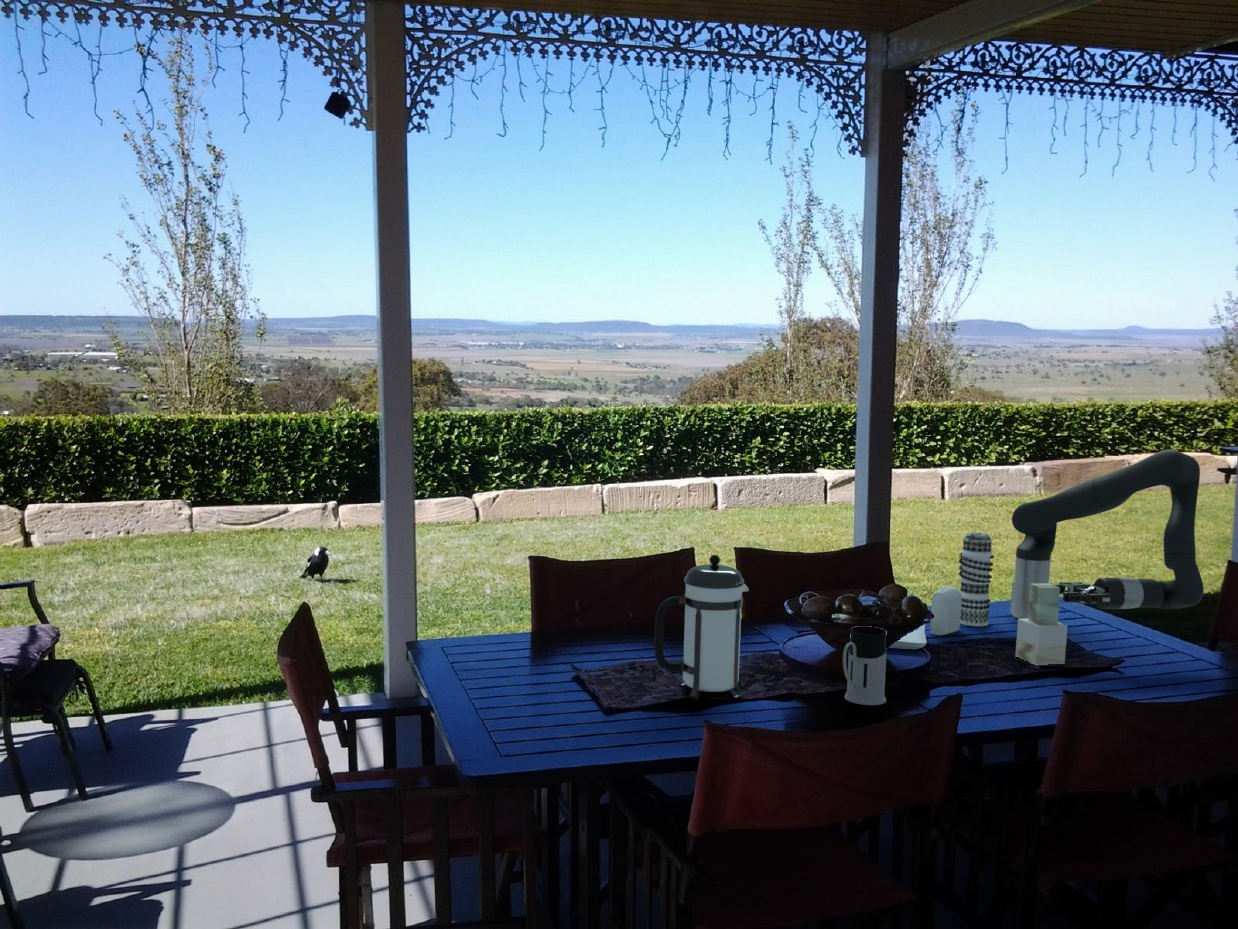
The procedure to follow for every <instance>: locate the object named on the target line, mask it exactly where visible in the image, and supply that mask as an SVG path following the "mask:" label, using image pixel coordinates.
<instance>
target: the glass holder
mask: <svg viewBox="0 0 1238 929" xmlns="http://www.w3.org/2000/svg"><path fill="white" fill-rule="evenodd" d="M886 635H887V631H886V630H884V629H882V628H878V627H872V626H855V627H852V628H851V634H850V642H849V643H846V644H845V646H844V648H843V652H842V668H843V673H844V676H845V678H846V680H847V684H846V692H845V694H844V699H845V700H847V701H848V702H850V703H854V704H857V705H861V706H862V705H864V706H878V705H883V704H885V703H886V702H887V698H886V696H885V695H886V694H885V690H886V689H885V686H886V670H887V669H886V668H887V666H886V665H887V648H886ZM847 652H848V662H847ZM847 664H848V665H847Z"/></svg>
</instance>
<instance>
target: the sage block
mask: <svg viewBox="0 0 1238 929" xmlns="http://www.w3.org/2000/svg"><path fill="white" fill-rule="evenodd" d="M1055 585H1056V584H1052V583H1050V582H1049V583H1040V584H1030V595H1029V613H1028V620H1030V621H1032V622H1034V623H1036V624H1038V625H1058V622H1059V610H1060V609H1059V608H1060V595H1061V594H1060V588H1059V587H1057V586H1055Z"/></svg>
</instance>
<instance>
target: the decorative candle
mask: <svg viewBox="0 0 1238 929" xmlns="http://www.w3.org/2000/svg"><path fill="white" fill-rule="evenodd" d="M962 541H963V542H962V549H961V550H962V551H961V552H959V556H958V557H959V560H958V562H959V563H960V565H959V566H958V568H959V570H960V571H959V573H958V575H959V579H958V581H960V589H959V590H960V592H961V595H962V598H961V614H960V625H963V626H964V625H965V626H969V627H985V626H986V627H987V626H988V625H989V621H990V620H989V619H990V617H989V615H990V613H991V612H990V610H989V608H990V606H991V605H990V604H989V603H990V601H991V599H990V590H989V589H990V584H992V581H991V579H992V577H993V576H992V575H991V574H990V572H992V571H994V569H993V567H992V566H994V562H992V561H991V560H992V559H994V558H995V556H994V555H993V551H992V542H994V540H993V539H992V538H991V536H990V535H989V534H988V533H984V532H968V533H966V535H965V537H962Z"/></svg>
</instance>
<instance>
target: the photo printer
mask: <svg viewBox="0 0 1238 929" xmlns="http://www.w3.org/2000/svg"><path fill="white" fill-rule="evenodd" d="M960 590H961V589H960V588H958V587H955V586H949V585H948V586H944V587H942V588H939V589H937V590H936V591H935V592H934V593H933V594H932V598H931V611H930V612H931V613H933V615H934V618H932V619H931V618H930V626H929V627H930V629H929V631H930V633H931V634H932V635H934V636H944V635H948V634H952V633H955V632H958V631H959V630H961V629H960V628H961V624H960V614H961V598H962V595H961V592H960ZM931 613H930V614H931Z"/></svg>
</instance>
